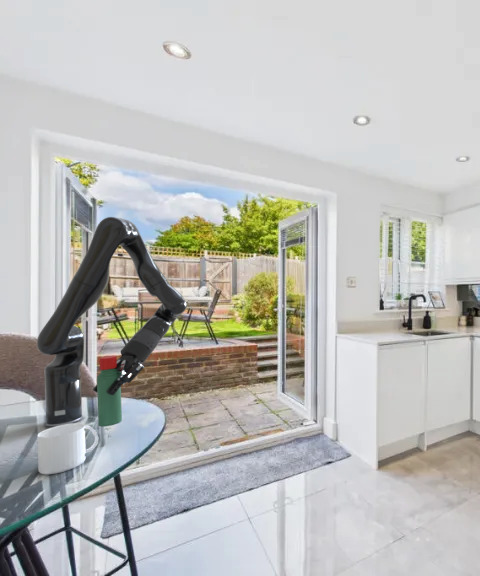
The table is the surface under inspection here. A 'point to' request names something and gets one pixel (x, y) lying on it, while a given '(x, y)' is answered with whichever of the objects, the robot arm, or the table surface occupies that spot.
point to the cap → (108, 362)
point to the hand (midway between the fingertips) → (102, 392)
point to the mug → (63, 447)
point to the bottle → (108, 399)
